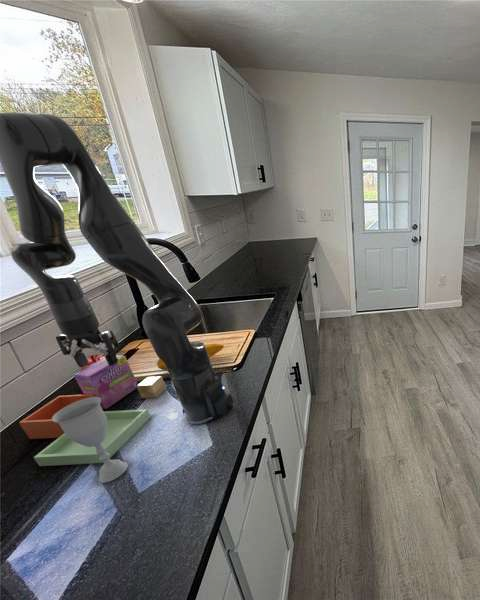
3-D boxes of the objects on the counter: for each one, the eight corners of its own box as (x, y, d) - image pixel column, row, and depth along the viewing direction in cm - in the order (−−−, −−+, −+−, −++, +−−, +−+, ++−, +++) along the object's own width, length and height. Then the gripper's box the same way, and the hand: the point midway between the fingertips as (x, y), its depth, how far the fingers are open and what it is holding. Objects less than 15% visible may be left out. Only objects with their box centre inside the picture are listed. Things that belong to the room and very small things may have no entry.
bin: (103, 409, 90) (94, 393, 88) (68, 437, 81) (58, 420, 79) (68, 411, 90) (59, 395, 88) (29, 439, 81) (18, 422, 79)
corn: (153, 349, 105) (219, 331, 115) (161, 367, 109) (225, 348, 119) (152, 360, 100) (222, 340, 110) (161, 379, 103) (227, 358, 113)
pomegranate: (112, 366, 112) (101, 343, 108) (127, 372, 107) (116, 349, 104) (77, 382, 104) (64, 358, 100) (90, 389, 99) (77, 365, 96)
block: (166, 387, 98) (161, 375, 96) (156, 397, 94) (151, 385, 92) (152, 388, 98) (147, 376, 96) (141, 398, 94) (136, 386, 92)
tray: (151, 417, 86) (147, 409, 85) (105, 462, 72) (100, 453, 71) (95, 420, 86) (90, 412, 85) (39, 466, 73) (33, 457, 72)
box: (106, 409, 90) (88, 375, 85) (90, 408, 91) (72, 374, 87) (140, 386, 99) (125, 355, 95) (125, 385, 100) (110, 354, 96)
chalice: (98, 492, 65) (57, 426, 59) (87, 478, 69) (47, 414, 62) (139, 466, 71) (106, 403, 64) (127, 454, 74) (94, 393, 68)
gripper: (33, 321, 81) (62, 374, 87) (87, 319, 81) (112, 371, 87) (61, 310, 88) (86, 359, 94) (112, 307, 88) (133, 356, 94)
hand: (99, 365), depth 91 cm, fingers open, 8 cm apart
